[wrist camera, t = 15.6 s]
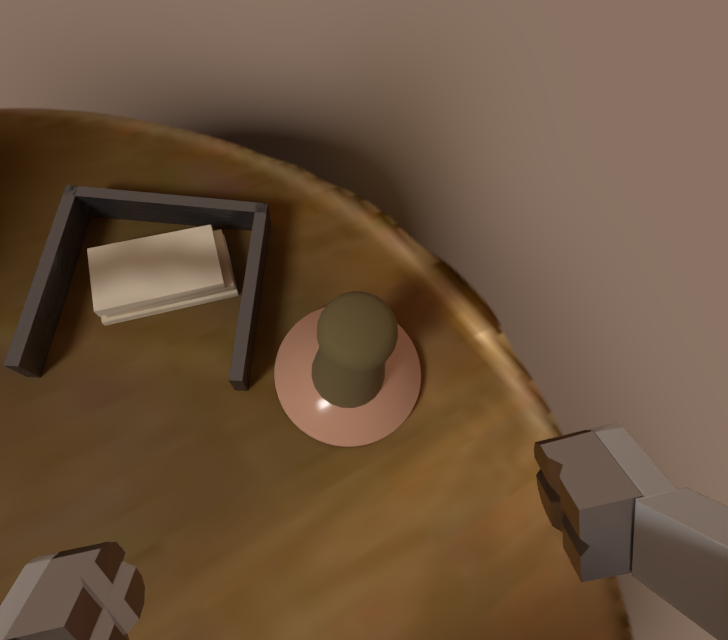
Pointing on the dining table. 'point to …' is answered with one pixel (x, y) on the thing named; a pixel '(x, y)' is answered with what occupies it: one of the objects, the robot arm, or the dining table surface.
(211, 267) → the offcut stack
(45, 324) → the grey u-shaped frame
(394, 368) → the pink round disc
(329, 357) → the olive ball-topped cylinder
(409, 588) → the dining table surface
